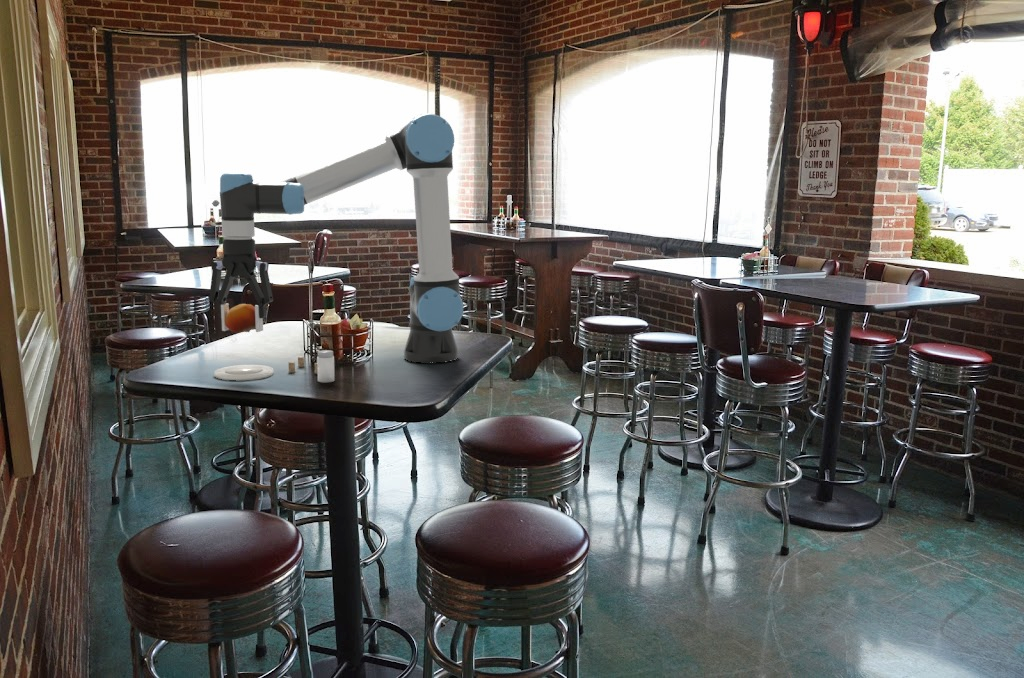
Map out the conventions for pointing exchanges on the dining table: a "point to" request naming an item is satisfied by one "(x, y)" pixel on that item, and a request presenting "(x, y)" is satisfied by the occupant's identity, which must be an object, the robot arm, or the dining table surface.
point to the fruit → (241, 318)
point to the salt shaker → (325, 366)
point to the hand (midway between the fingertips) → (242, 330)
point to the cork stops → (299, 365)
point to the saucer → (243, 372)
